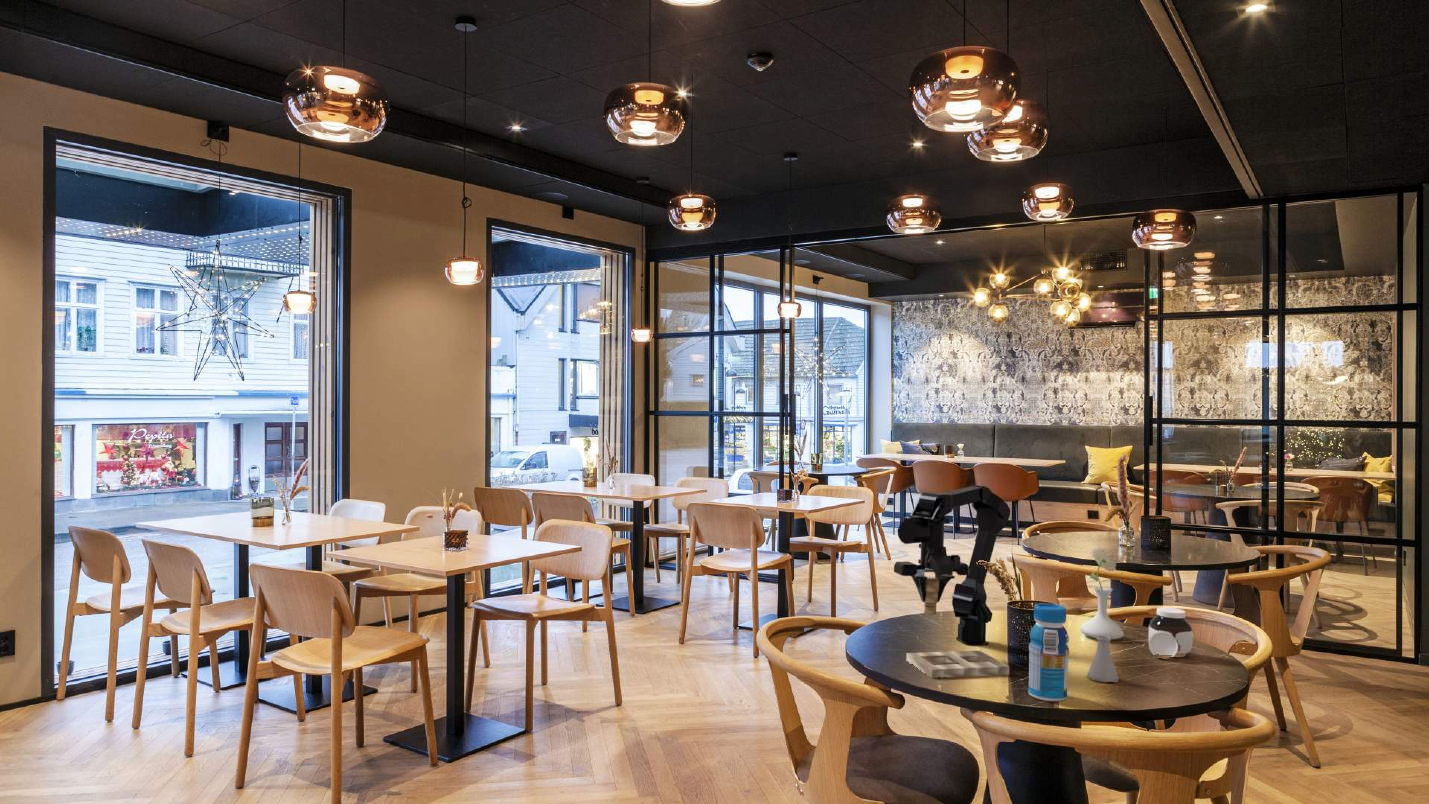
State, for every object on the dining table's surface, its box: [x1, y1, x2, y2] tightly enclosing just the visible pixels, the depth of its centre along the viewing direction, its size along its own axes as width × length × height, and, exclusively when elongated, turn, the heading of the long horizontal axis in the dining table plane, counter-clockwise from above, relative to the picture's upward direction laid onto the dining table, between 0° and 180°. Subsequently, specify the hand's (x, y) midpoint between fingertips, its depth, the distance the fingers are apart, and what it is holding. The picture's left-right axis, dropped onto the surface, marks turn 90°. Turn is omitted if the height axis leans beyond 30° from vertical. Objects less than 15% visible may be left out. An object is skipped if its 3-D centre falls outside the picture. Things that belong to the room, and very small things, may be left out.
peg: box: [923, 576, 939, 616], centre depth 241 cm, size 4×4×9 cm
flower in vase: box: [1079, 546, 1125, 640], centre depth 261 cm, size 13×11×25 cm
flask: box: [1086, 636, 1120, 684], centre depth 220 cm, size 7×7×10 cm
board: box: [906, 650, 1010, 679], centre depth 226 cm, size 20×14×2 cm
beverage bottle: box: [1027, 602, 1070, 702], centre depth 206 cm, size 8×8×20 cm
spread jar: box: [1147, 606, 1194, 657], centre depth 243 cm, size 12×11×12 cm
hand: (930, 601), depth 241 cm, fingers closed on peg, 4 cm apart
